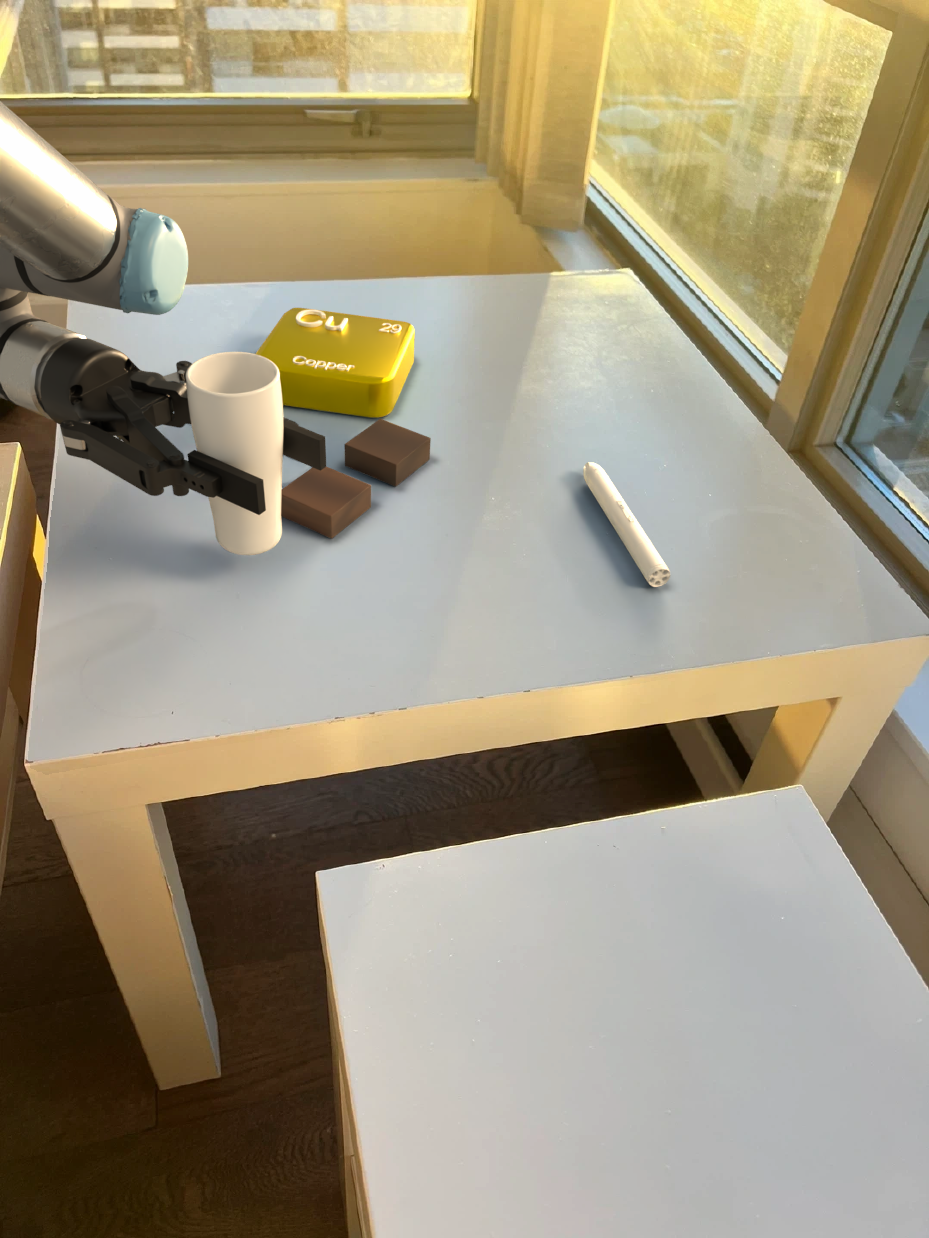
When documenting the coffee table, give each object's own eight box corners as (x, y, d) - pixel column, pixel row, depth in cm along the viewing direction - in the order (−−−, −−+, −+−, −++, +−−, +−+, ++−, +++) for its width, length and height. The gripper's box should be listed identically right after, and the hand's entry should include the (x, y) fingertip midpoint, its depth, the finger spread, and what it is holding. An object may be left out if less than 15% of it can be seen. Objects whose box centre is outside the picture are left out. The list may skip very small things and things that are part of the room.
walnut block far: (395, 487, 91) (396, 464, 89) (344, 466, 93) (344, 444, 91) (429, 459, 95) (431, 437, 93) (380, 440, 97) (380, 418, 95)
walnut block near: (331, 539, 84) (331, 516, 83) (278, 515, 86) (276, 492, 85) (371, 507, 88) (371, 484, 87) (319, 485, 90) (318, 462, 89)
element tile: (249, 402, 101) (245, 360, 98) (290, 340, 112) (288, 300, 109) (389, 421, 100) (389, 380, 97) (417, 357, 111) (418, 317, 108)
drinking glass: (305, 548, 78) (297, 382, 68) (228, 574, 75) (207, 404, 65) (269, 506, 82) (255, 343, 72) (194, 529, 79) (169, 362, 69)
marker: (575, 473, 95) (578, 452, 93) (594, 471, 95) (598, 451, 94) (645, 588, 82) (651, 567, 81) (668, 586, 83) (674, 564, 81)
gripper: (164, 377, 89) (369, 460, 81) (-14, 472, 76) (208, 581, 68) (152, 299, 83) (369, 379, 75) (-42, 386, 71) (195, 493, 63)
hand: (292, 474), depth 72 cm, fingers closed on drinking glass, 7 cm apart
